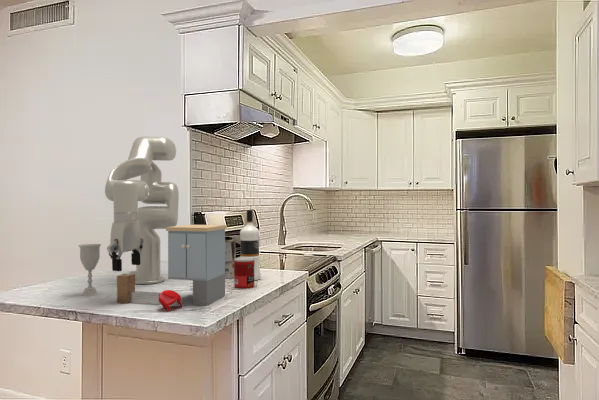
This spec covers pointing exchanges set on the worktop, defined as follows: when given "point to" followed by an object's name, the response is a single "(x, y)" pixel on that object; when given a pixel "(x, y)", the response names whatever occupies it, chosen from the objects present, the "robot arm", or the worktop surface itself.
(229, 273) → the coffee box
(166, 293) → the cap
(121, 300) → the blade tool
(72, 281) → the worktop surface
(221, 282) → the cabinet
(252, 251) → the vodka
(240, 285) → the canned food
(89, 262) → the chalice
